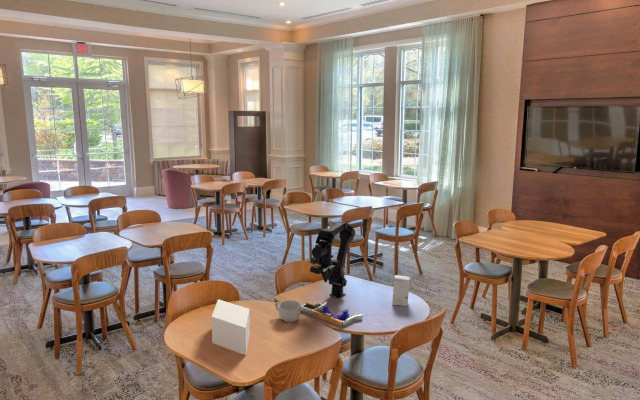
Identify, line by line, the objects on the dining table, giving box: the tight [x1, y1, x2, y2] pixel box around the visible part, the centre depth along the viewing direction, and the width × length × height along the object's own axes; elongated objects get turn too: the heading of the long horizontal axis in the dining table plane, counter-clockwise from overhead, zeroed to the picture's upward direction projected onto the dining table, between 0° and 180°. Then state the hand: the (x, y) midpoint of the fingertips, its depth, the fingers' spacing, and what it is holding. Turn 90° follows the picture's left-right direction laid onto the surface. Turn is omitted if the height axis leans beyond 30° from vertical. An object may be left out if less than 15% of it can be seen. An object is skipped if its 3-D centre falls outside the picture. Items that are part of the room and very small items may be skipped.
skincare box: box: [392, 274, 411, 307], centre depth 254 cm, size 8×6×15 cm
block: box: [211, 299, 251, 356], centre depth 212 cm, size 18×35×12 cm, turn 30°
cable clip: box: [322, 305, 350, 321], centre depth 235 cm, size 12×4×6 cm, turn 68°
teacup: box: [274, 299, 302, 323], centre depth 234 cm, size 14×11×8 cm
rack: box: [301, 300, 363, 328], centre depth 239 cm, size 14×30×4 cm, turn 48°
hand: (325, 282), depth 252 cm, fingers closed
